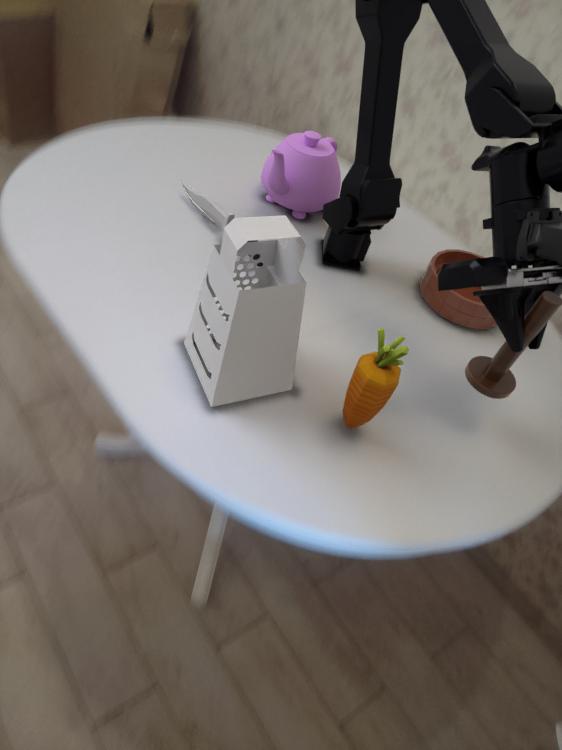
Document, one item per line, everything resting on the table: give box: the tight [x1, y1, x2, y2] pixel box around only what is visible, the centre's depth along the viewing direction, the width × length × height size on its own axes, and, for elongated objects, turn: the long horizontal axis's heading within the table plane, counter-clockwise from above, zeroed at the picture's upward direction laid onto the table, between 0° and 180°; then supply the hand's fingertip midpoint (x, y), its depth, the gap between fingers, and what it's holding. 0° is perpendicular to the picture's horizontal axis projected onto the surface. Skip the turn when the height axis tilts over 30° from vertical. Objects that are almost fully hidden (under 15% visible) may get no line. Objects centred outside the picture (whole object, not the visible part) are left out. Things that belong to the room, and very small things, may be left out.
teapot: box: [260, 130, 342, 220], centre depth 88 cm, size 20×14×12 cm
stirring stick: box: [464, 291, 562, 400], centre depth 57 cm, size 6×6×13 cm
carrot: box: [342, 327, 409, 430], centre depth 56 cm, size 5×5×15 cm
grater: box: [183, 214, 307, 408], centre depth 57 cm, size 10×10×20 cm
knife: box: [181, 180, 263, 268], centre depth 80 cm, size 25×2×5 cm, turn 37°
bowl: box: [419, 248, 497, 330], centre depth 82 cm, size 14×14×5 cm
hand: (525, 350), depth 56 cm, fingers closed on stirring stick, 2 cm apart
